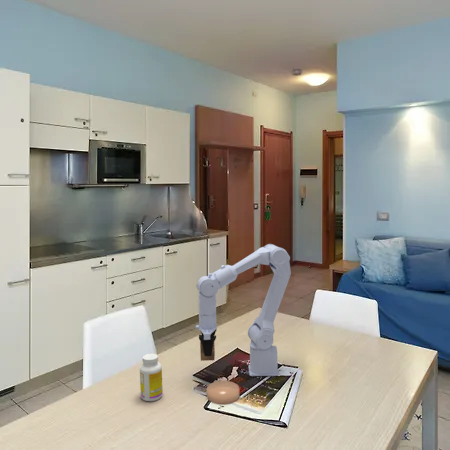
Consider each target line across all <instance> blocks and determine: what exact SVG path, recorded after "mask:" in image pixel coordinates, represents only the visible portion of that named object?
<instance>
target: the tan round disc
mask: <svg viewBox="0 0 450 450" xmlns="http://www.w3.org/2000/svg"><path fill="white" fill-rule="evenodd" d="M206 397H207V400H208V401H209V402H211V403H212V404H213V403H214V404H217V405H228V404H232V403H234V402H237V401H238V399H239V398H240V386H239V385H238V384H237V383H235V382H234V381H229V380H218V381H217V380H216V381H214V382H212V383H210V384H208V385H207V387H206ZM238 397H239V398H238Z"/></svg>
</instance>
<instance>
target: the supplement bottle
mask: <svg viewBox="0 0 450 450" xmlns="http://www.w3.org/2000/svg"><path fill="white" fill-rule="evenodd" d="M162 369H163V367H162V364H161V363H160V362H159V355H158V354H156V353H147V354H144V355H143V356H142V364H141V365H140V366H139V384H140V386H139V388H140V397H141V399H142V400H143V401H145V402H155V401H158V400H159V399H161V398H162V396H163V372H162V371H163V370H162Z"/></svg>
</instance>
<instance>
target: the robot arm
mask: <svg viewBox="0 0 450 450" xmlns="http://www.w3.org/2000/svg"><path fill="white" fill-rule="evenodd" d="M290 261H291V256H290V255H289V253H288V252H287V250H286V249H284V248H283V247H279V246H277V245H275V244H272V243H268V244H266V245H264V246H262V247H258V249H256V250H255V251H254V252H252V253H250V254H249V255H248V256H245V258H243V259H242V260H239V261H238V262H236V263H234V264H233V265H230V264H225V265H224V264H222V265H220V268H219V269H218V270H215V271H214V272H209V273H208V274H207V275H202V276H201V277H200V278H199V279H198V281H197V283H196V288H197V291H198V324H196V325H195V329H196V330H199V331H200V333H201V334H198V339H199V341H201V343H202V346H203V351H204V355H205V356H211V355H212V349H213V344H214V345H215V341H216V339H217V335H216V332H217V329H218V325H217V300H216V299H217V298H216V297H217V296H216V294H217V293H218V290H220V289H222V288H224V287H226V286H227V285H229V284H231V283H233V282H235V281H236V279H237V277H238V275H239V274H242V273H243V272H245V271H248V270H249V269H252V268H253V267H256V266H257V265H265V266H269V267H270V268H271V270H272V273H273V276H272V279H271V281H270V284H269V287H268V290H267V293H266V296H265V298H264V301H263V305H262V307H261V310H260V312H259V314H258V317H256V318H255V319H254V321H253V323H252V324H251V325H250V326H249V327H248V330H247V336H248V337H249V339H250V343H249V364H248V365H247V366H248V374H249V376H250V377H271V376H272V377H274V376H279V374H278V365H279V363H278V348H277V345H273V344H274V333H275V325H274V324H275V323H274V322H275V319H276V316H277V313H278V311H279V308H280V307H281V303H282V301H283V297H284V295H285V292H286V289H287V286H288V283H289V281H290V278H291V275H292V271H291V264H290Z"/></svg>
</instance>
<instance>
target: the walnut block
mask: <svg viewBox="0 0 450 450" xmlns="http://www.w3.org/2000/svg"><path fill="white" fill-rule="evenodd" d="M199 341H200V340H199ZM199 346H200V348H199V350H200V361H201V362H202V361H203V362H205V361H215V358H216V357H215V355H216V354H215V353H216V351H215V350H216V347H215V346H216V345H215V343H214V344H213V349H212V355H211V356H205V355H204V351H203V346H202V343H201V341H200V342H199Z"/></svg>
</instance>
